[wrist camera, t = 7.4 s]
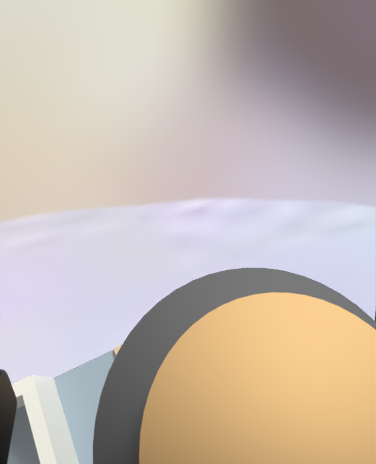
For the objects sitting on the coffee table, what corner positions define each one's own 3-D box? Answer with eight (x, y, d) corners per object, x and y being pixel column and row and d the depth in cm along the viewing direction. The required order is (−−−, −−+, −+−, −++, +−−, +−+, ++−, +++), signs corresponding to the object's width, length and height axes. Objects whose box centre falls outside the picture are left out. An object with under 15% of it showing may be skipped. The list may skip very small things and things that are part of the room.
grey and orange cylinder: (262, 426, 15) (629, 572, 3) (175, 478, 14) (194, 968, 2) (217, 336, 16) (343, 189, 4) (135, 378, 15) (12, 337, 4)
